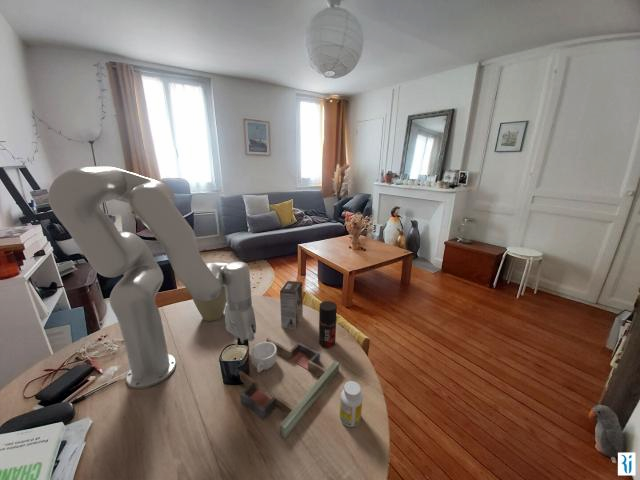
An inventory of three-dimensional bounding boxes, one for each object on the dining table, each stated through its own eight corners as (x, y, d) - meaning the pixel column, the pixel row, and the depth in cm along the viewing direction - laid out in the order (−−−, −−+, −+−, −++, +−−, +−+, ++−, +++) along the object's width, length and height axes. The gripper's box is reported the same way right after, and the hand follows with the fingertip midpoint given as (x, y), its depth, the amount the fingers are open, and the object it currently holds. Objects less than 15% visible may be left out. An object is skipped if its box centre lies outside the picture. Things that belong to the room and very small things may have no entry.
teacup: (257, 354, 85) (256, 340, 83) (280, 356, 84) (279, 342, 83) (246, 378, 76) (244, 363, 74) (271, 381, 75) (270, 366, 73)
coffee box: (288, 314, 107) (287, 280, 102) (303, 316, 106) (302, 281, 101) (280, 327, 99) (279, 290, 94) (296, 330, 97) (296, 292, 93)
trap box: (217, 384, 73) (216, 375, 72) (277, 338, 93) (277, 331, 92) (285, 438, 59) (284, 428, 58) (338, 370, 79) (339, 362, 78)
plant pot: (203, 332, 95) (197, 294, 91) (187, 316, 105) (182, 281, 100) (239, 316, 106) (236, 281, 101) (222, 302, 115) (218, 270, 111)
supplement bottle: (341, 428, 62) (343, 398, 59) (337, 408, 67) (339, 379, 64) (363, 426, 62) (366, 396, 59) (358, 406, 67) (360, 377, 64)
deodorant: (321, 349, 88) (322, 311, 83) (316, 338, 93) (317, 302, 89) (337, 346, 89) (339, 309, 85) (332, 335, 95) (333, 300, 90)
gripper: (213, 299, 80) (219, 347, 86) (245, 314, 72) (250, 367, 78) (233, 289, 86) (238, 335, 92) (265, 303, 78) (267, 352, 84)
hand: (243, 349), depth 85 cm, fingers closed
